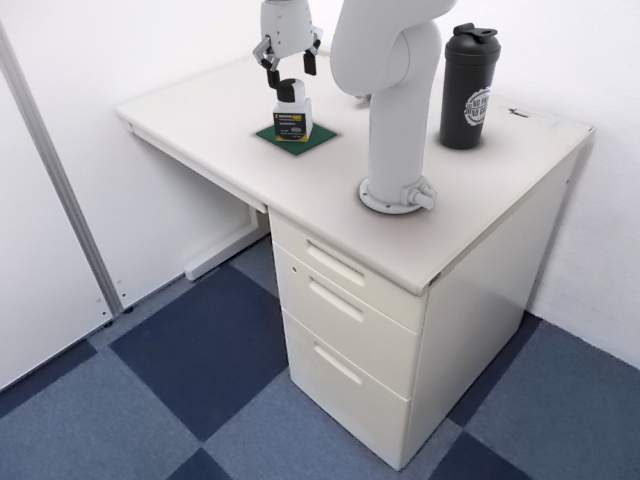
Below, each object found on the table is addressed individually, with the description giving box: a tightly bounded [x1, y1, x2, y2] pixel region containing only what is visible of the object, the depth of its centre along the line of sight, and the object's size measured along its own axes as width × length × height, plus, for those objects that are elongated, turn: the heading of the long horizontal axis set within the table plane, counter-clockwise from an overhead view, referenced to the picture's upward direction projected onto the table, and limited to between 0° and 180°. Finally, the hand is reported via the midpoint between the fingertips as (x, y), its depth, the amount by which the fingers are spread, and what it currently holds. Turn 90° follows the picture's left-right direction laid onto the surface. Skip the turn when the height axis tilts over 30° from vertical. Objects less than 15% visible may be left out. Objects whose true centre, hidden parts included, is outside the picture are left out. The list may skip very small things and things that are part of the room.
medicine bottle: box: [272, 77, 314, 142], centre depth 106 cm, size 7×7×12 cm
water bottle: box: [438, 22, 502, 151], centre depth 98 cm, size 10×10×23 cm
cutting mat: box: [255, 122, 338, 156], centre depth 111 cm, size 14×12×1 cm
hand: (293, 81), depth 102 cm, fingers open, 9 cm apart
